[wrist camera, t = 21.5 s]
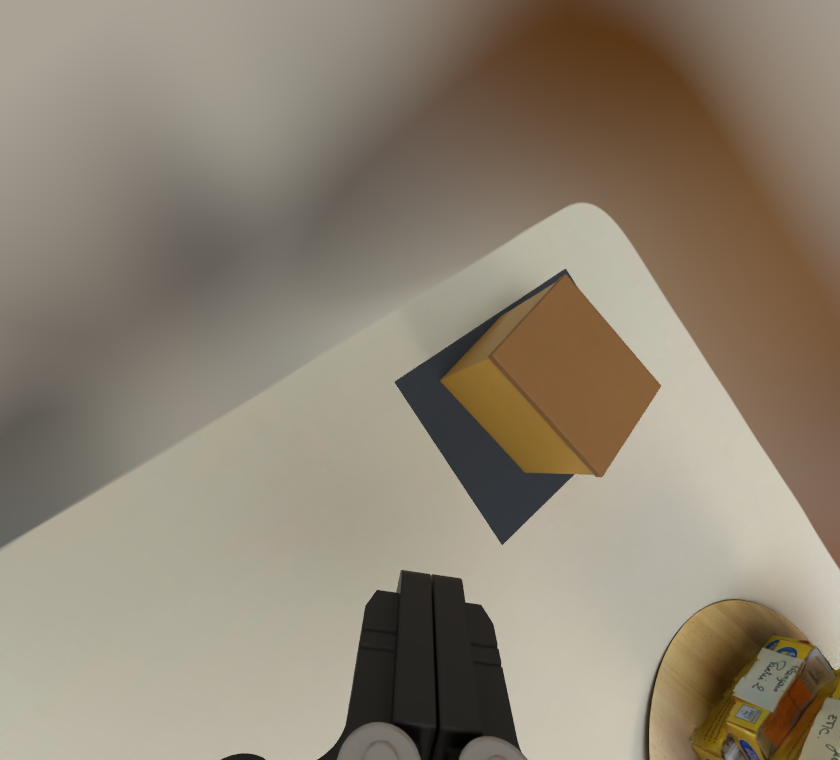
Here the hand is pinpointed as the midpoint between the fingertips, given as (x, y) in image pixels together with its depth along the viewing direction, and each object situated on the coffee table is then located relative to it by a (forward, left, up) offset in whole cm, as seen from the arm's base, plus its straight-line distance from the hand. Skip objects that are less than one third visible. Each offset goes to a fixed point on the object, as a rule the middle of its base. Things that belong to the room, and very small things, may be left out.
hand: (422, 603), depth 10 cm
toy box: (+2, +19, -21) cm, 29 cm away
